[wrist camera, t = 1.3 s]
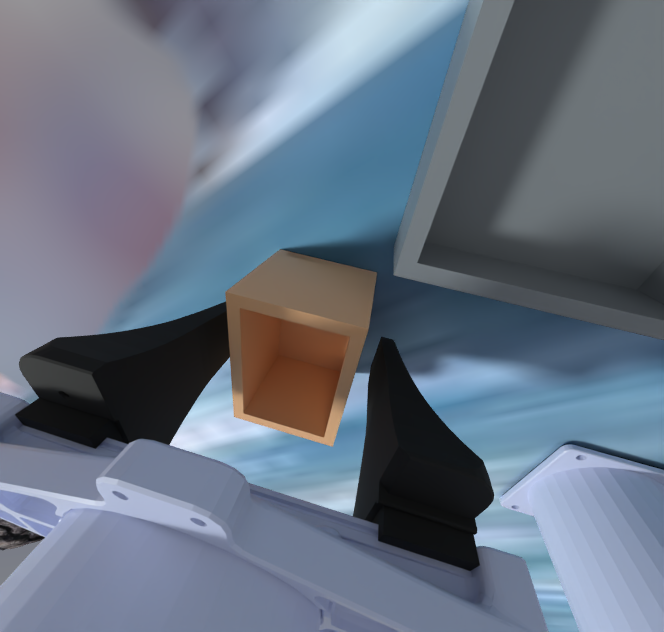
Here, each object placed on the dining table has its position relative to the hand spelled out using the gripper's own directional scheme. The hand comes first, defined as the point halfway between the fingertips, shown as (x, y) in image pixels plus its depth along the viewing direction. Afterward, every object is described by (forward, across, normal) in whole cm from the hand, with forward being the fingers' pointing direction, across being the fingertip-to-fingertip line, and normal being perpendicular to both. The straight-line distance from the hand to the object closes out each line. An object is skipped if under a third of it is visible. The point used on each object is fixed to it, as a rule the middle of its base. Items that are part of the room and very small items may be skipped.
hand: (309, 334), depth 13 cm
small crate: (+2, 0, 0) cm, 2 cm away
